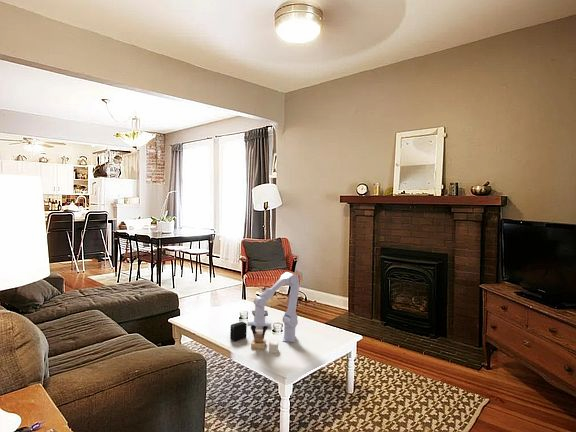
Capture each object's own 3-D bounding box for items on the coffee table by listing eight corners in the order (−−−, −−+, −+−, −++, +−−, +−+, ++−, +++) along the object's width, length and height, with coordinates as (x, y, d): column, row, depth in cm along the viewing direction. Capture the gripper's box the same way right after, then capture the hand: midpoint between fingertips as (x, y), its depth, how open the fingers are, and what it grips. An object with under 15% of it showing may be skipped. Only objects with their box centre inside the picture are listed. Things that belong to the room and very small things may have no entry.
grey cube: (269, 348, 223) (270, 340, 223) (278, 349, 223) (278, 341, 222) (268, 352, 218) (269, 344, 218) (277, 352, 218) (277, 344, 217)
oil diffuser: (275, 318, 280) (276, 296, 279) (278, 329, 256) (279, 306, 255) (241, 318, 277) (242, 296, 276) (241, 330, 253) (242, 306, 252)
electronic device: (246, 337, 239) (246, 323, 238) (234, 341, 232) (234, 326, 231) (242, 336, 242) (242, 321, 241) (230, 339, 235) (230, 324, 234)
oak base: (253, 343, 231) (253, 338, 230) (266, 344, 230) (266, 339, 230) (251, 348, 223) (251, 343, 223) (263, 349, 222) (264, 344, 222)
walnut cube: (255, 338, 229) (255, 330, 228) (263, 339, 228) (263, 331, 228) (254, 341, 224) (254, 333, 223) (262, 342, 223) (262, 334, 223)
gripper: (246, 317, 222) (246, 339, 223) (270, 319, 221) (269, 341, 221) (249, 313, 229) (248, 335, 230) (271, 315, 228) (271, 336, 228)
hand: (258, 337), depth 226 cm, fingers closed on walnut cube, 5 cm apart
